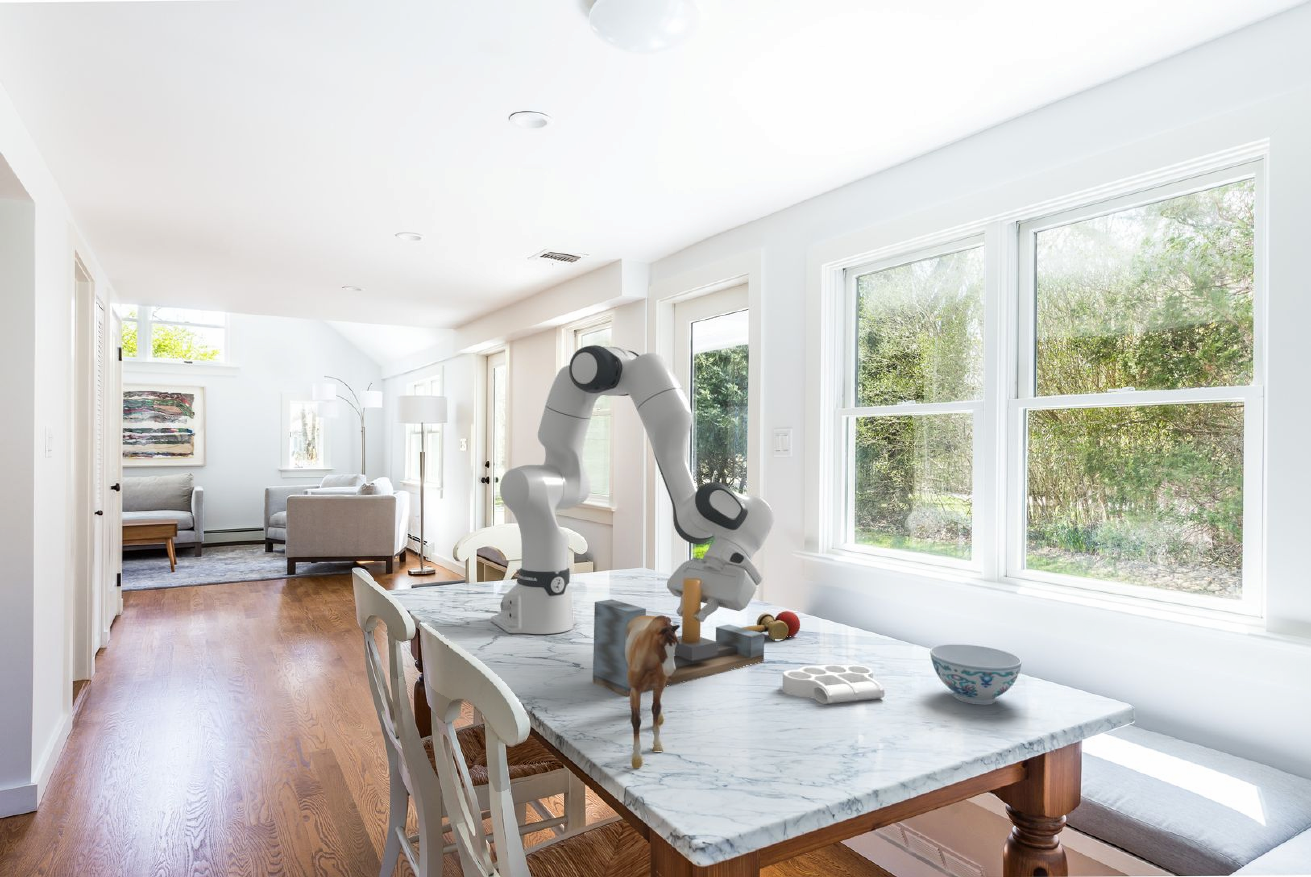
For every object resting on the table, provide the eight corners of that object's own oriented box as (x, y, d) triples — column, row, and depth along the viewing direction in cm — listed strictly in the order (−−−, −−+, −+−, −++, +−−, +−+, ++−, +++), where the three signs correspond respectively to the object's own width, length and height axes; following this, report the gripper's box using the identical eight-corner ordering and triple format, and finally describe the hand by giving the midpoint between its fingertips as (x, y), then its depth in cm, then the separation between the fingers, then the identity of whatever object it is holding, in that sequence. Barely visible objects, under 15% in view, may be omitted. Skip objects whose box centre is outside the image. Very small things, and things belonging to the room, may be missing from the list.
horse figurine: (676, 783, 97) (680, 623, 97) (616, 781, 97) (620, 621, 97) (673, 702, 128) (675, 581, 128) (627, 701, 128) (630, 580, 128)
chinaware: (974, 682, 143) (975, 641, 143) (1041, 708, 129) (1041, 663, 129) (911, 689, 137) (912, 647, 137) (973, 717, 123) (974, 670, 123)
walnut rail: (590, 682, 137) (592, 602, 138) (728, 651, 161) (729, 582, 161) (627, 698, 129) (629, 612, 129) (767, 662, 153) (768, 590, 153)
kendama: (742, 653, 165) (809, 635, 173) (737, 624, 166) (804, 607, 174) (726, 650, 172) (791, 633, 180) (721, 623, 173) (786, 607, 181)
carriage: (663, 651, 148) (665, 578, 148) (689, 646, 152) (691, 575, 152) (691, 660, 142) (693, 584, 142) (717, 655, 146) (719, 580, 146)
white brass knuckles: (811, 711, 126) (769, 685, 140) (899, 701, 132) (851, 677, 146) (811, 691, 126) (769, 666, 140) (900, 682, 132) (851, 660, 146)
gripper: (682, 547, 160) (646, 598, 153) (754, 559, 144) (718, 616, 138) (697, 566, 162) (662, 617, 156) (769, 580, 147) (734, 637, 140)
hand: (689, 617), depth 147 cm, fingers closed on carriage, 4 cm apart
